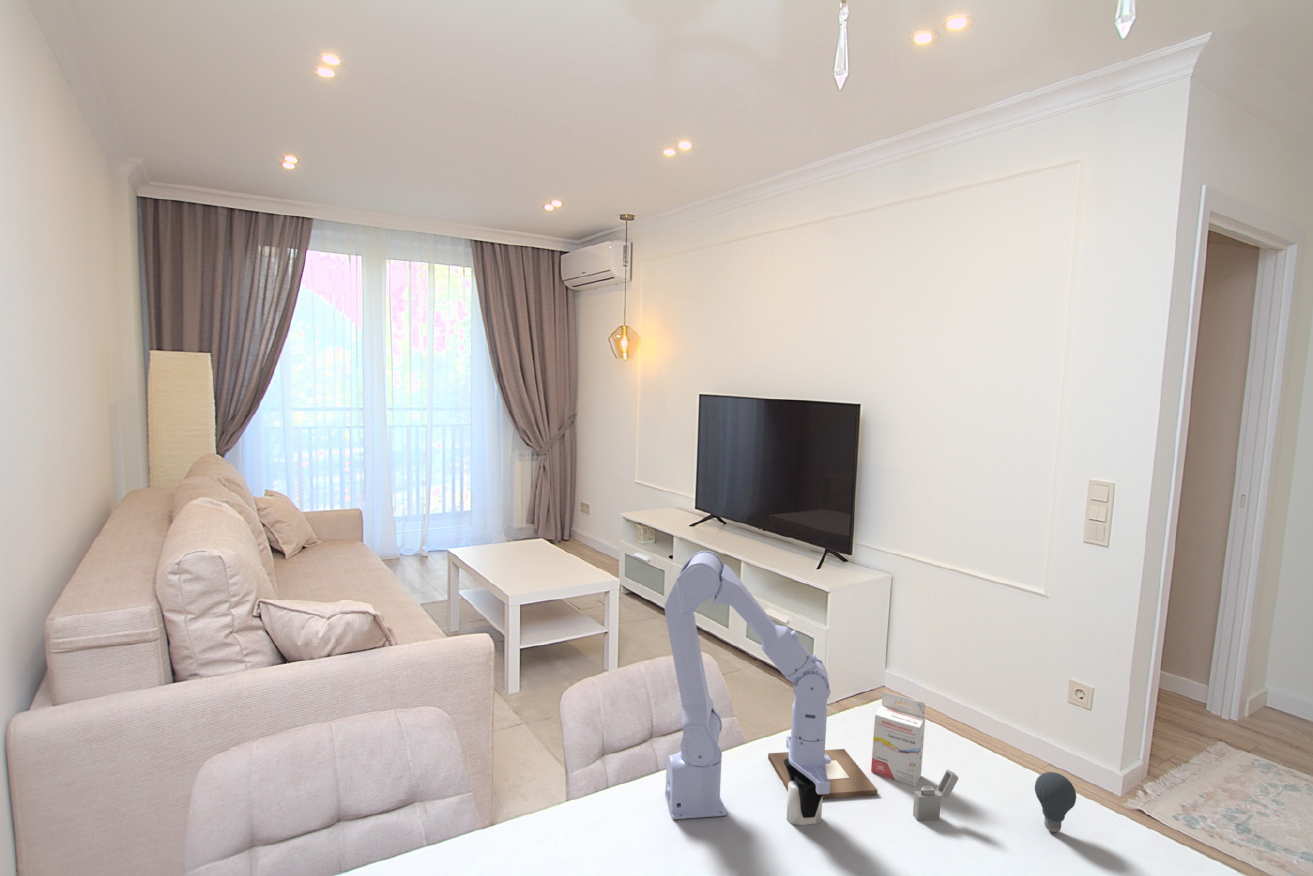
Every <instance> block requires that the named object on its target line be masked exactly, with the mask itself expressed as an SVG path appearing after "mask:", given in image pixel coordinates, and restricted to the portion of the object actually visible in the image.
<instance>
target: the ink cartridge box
mask: <svg viewBox="0 0 1313 876" xmlns="http://www.w3.org/2000/svg"><path fill="white" fill-rule="evenodd" d="M902 701H903V702H904V703H905V704H908V705H909V706H906V705H903V704H899V703H897V702H902ZM925 708H926V704H925V702H924V701H920V700H916V699H913V698H910V697H905V696H902V695H898V694H894V693H892V692H888V691H882V694H881V705H880V707H879V708H878V710H877V712H876V713H875V714H874V715H875V716H874V725H873V726H874V727H873V738H872V739H873V740H872V749H871V764H870V765H871V768H870V769H871V770H870V771H871V773H874V774H877V775H879V776H882V777H885V778H889V779H892V780H894V781H897V782H900V783H903V784H906V785H909V786H912V787H914V788H915V787H917V785H918V783H919V780H920V777H921V776H922V775H921V774H922V769H923V768H922V765H923V752H924V740H925V739H924V738H925V727H926V725H925V724H926V718H925V713H926V712H925V711H926V710H925Z"/></svg>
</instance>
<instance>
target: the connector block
mask: <svg viewBox="0 0 1313 876" xmlns="http://www.w3.org/2000/svg"><path fill="white" fill-rule="evenodd" d="M822 797H823V796H822ZM786 801H787V804H786V805H787V806H786V821H787V822H788V823H790V824H792V825H794V826H805V825H815V824H820V823H821V821H822V811H823V799H822V798H821V800H820V803H819V806H818V809H817V812H816V815H815V817H812V818H803V816H802V813H801V806H800V795H799V790H798V787H797V784H796V781H791V782H789V784H788V791H787V800H786Z"/></svg>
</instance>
